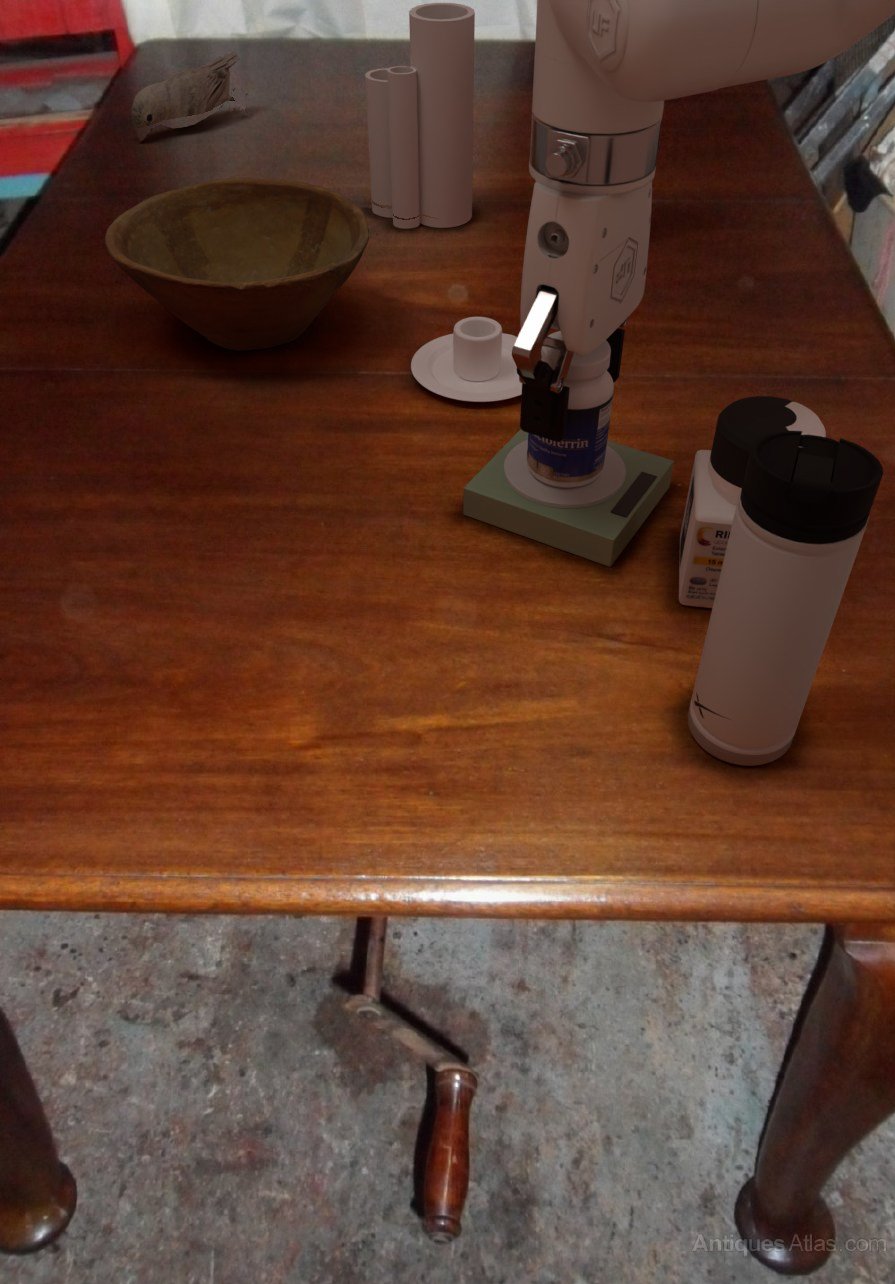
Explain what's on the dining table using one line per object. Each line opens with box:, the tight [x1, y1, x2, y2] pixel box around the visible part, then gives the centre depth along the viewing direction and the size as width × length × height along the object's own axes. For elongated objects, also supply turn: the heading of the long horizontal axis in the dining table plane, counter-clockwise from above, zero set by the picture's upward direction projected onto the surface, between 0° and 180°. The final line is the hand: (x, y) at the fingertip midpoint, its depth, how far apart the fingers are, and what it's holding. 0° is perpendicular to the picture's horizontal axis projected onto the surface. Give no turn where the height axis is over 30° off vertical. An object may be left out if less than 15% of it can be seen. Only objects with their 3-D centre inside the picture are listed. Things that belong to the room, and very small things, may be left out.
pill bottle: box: [527, 330, 615, 488], centre depth 75 cm, size 6×6×10 cm
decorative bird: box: [131, 51, 248, 128], centre depth 135 cm, size 5×16×7 cm, turn 133°
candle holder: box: [410, 316, 522, 403], centre depth 92 cm, size 12×12×4 cm
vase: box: [364, 2, 476, 230], centre depth 111 cm, size 11×7×20 cm, turn 85°
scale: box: [462, 428, 675, 568], centre depth 79 cm, size 12×11×3 cm
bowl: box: [104, 177, 370, 352], centre depth 96 cm, size 22×23×10 cm
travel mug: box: [687, 431, 884, 767], centre depth 57 cm, size 6×7×20 cm
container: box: [678, 395, 827, 609], centre depth 70 cm, size 8×8×13 cm
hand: (570, 403), depth 75 cm, fingers open, 8 cm apart
